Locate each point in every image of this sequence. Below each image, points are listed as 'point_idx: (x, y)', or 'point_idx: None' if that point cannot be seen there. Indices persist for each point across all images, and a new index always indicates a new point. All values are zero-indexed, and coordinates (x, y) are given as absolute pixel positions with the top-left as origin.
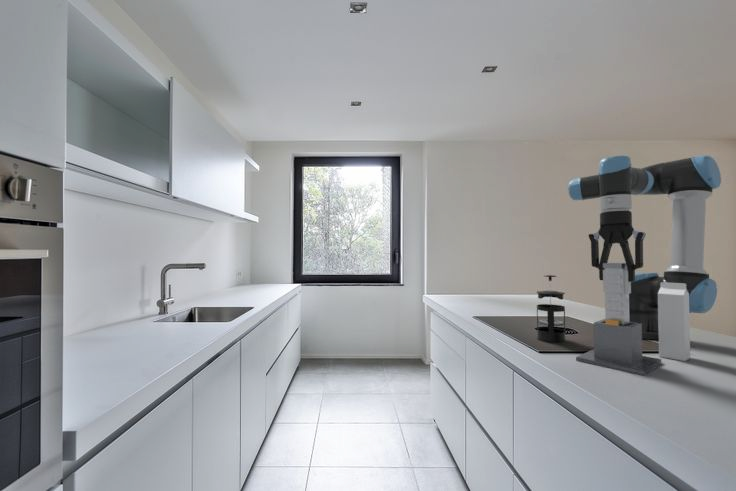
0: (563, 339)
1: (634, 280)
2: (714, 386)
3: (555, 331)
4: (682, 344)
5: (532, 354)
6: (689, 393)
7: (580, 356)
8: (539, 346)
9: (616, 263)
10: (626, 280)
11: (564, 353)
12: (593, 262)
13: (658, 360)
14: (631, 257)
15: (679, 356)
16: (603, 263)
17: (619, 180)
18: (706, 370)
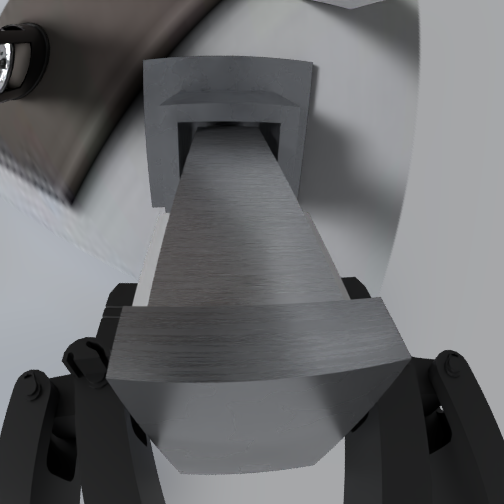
0: (43, 54)
1: (359, 286)
2: (391, 181)
3: (6, 29)
4: (366, 2)
5: (77, 232)
6: (356, 246)
7: (155, 194)
8: (39, 155)
9: (279, 469)
10: None
11: (105, 164)
12: (65, 446)
13: (309, 81)
14: (415, 470)
15: (343, 5)
16: (185, 471)
17: None
18: (389, 68)
